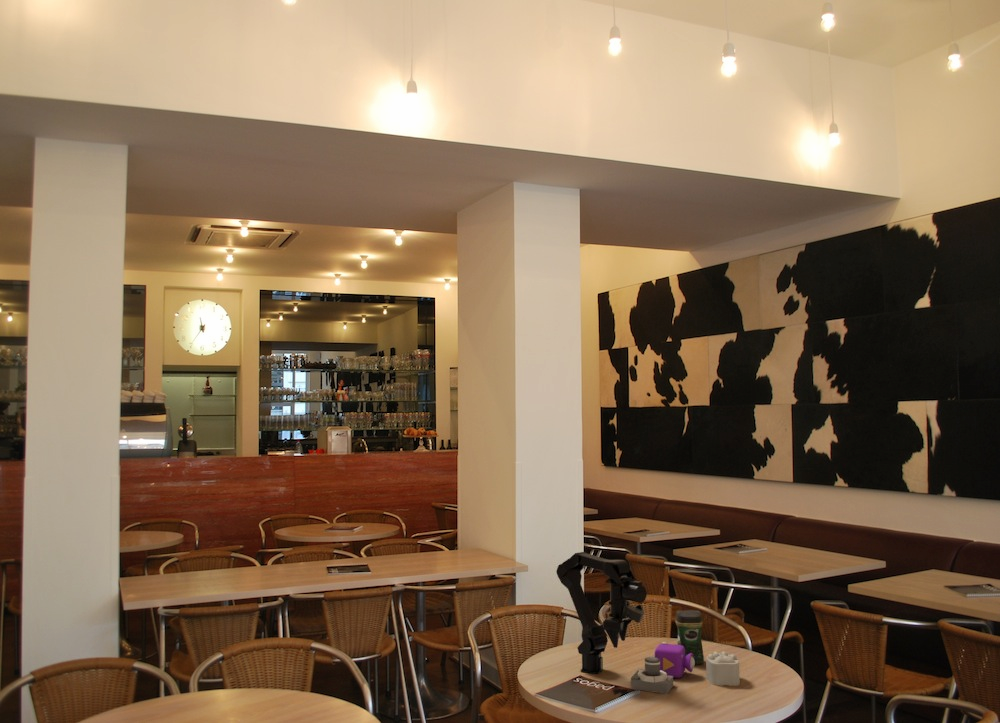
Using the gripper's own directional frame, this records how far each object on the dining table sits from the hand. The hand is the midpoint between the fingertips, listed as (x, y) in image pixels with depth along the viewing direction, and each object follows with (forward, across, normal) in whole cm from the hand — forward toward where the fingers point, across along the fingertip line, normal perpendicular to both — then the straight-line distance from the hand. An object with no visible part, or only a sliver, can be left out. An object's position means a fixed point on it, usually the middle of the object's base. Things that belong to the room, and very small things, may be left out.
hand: (619, 644), depth 285 cm
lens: (+9, -3, -12) cm, 15 cm away
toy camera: (+12, +13, -16) cm, 24 cm away
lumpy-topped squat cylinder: (+12, +14, -32) cm, 37 cm away
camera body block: (+12, -3, -12) cm, 17 cm away
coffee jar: (+12, +29, -18) cm, 36 cm away
